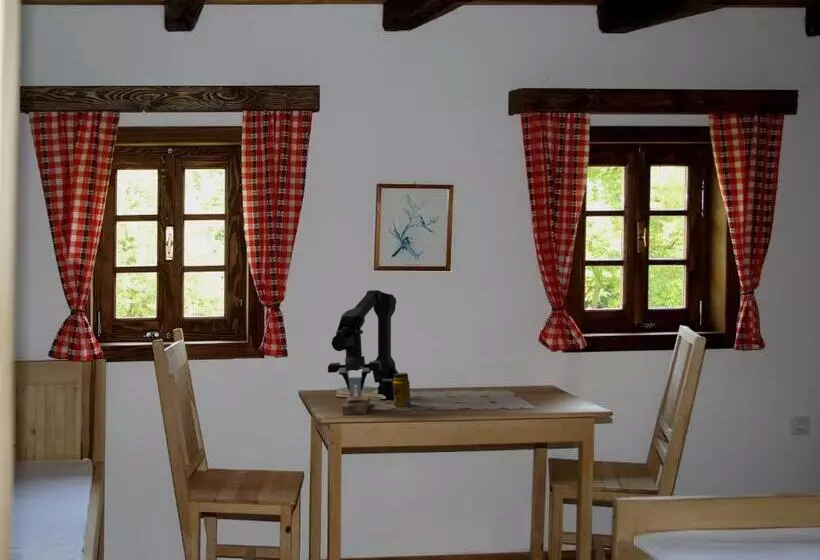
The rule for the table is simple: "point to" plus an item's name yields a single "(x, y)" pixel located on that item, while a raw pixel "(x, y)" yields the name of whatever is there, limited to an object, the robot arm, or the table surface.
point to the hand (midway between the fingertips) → (355, 390)
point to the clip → (353, 382)
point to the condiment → (401, 391)
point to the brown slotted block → (356, 405)
